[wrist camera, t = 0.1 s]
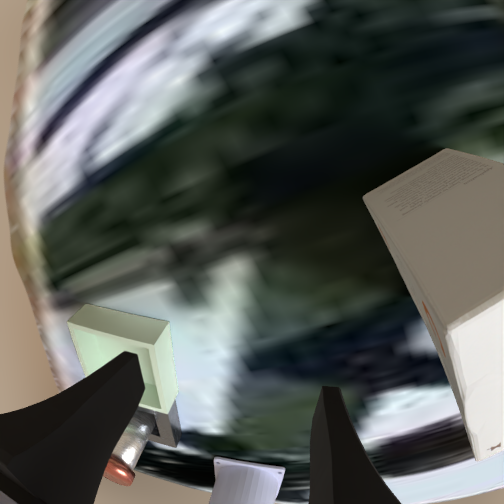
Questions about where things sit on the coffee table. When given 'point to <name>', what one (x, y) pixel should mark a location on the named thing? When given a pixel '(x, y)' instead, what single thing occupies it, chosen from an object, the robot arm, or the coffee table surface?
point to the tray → (128, 349)
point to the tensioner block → (165, 426)
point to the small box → (455, 275)
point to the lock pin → (129, 448)
